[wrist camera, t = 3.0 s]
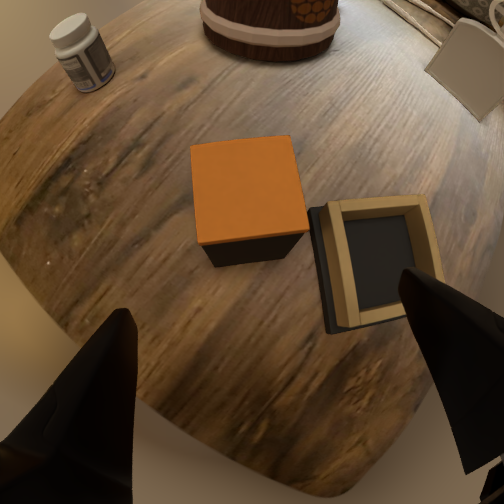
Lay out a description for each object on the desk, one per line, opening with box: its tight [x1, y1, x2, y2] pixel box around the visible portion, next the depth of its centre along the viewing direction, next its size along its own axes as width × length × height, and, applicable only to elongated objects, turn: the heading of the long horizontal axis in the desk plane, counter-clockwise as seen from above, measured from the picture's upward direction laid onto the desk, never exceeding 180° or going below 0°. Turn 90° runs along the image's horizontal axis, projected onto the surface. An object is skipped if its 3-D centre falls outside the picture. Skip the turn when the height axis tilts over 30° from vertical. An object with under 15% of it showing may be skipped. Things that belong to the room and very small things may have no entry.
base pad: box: [307, 194, 445, 335], centre depth 20 cm, size 9×9×4 cm
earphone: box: [384, 0, 455, 47], centre depth 26 cm, size 14×17×18 cm
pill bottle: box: [50, 13, 115, 92], centre depth 20 cm, size 5×5×8 cm
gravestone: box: [425, 0, 504, 122], centre depth 17 cm, size 3×9×18 cm, turn 47°
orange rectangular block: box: [190, 135, 310, 267], centre depth 18 cm, size 5×5×8 cm
